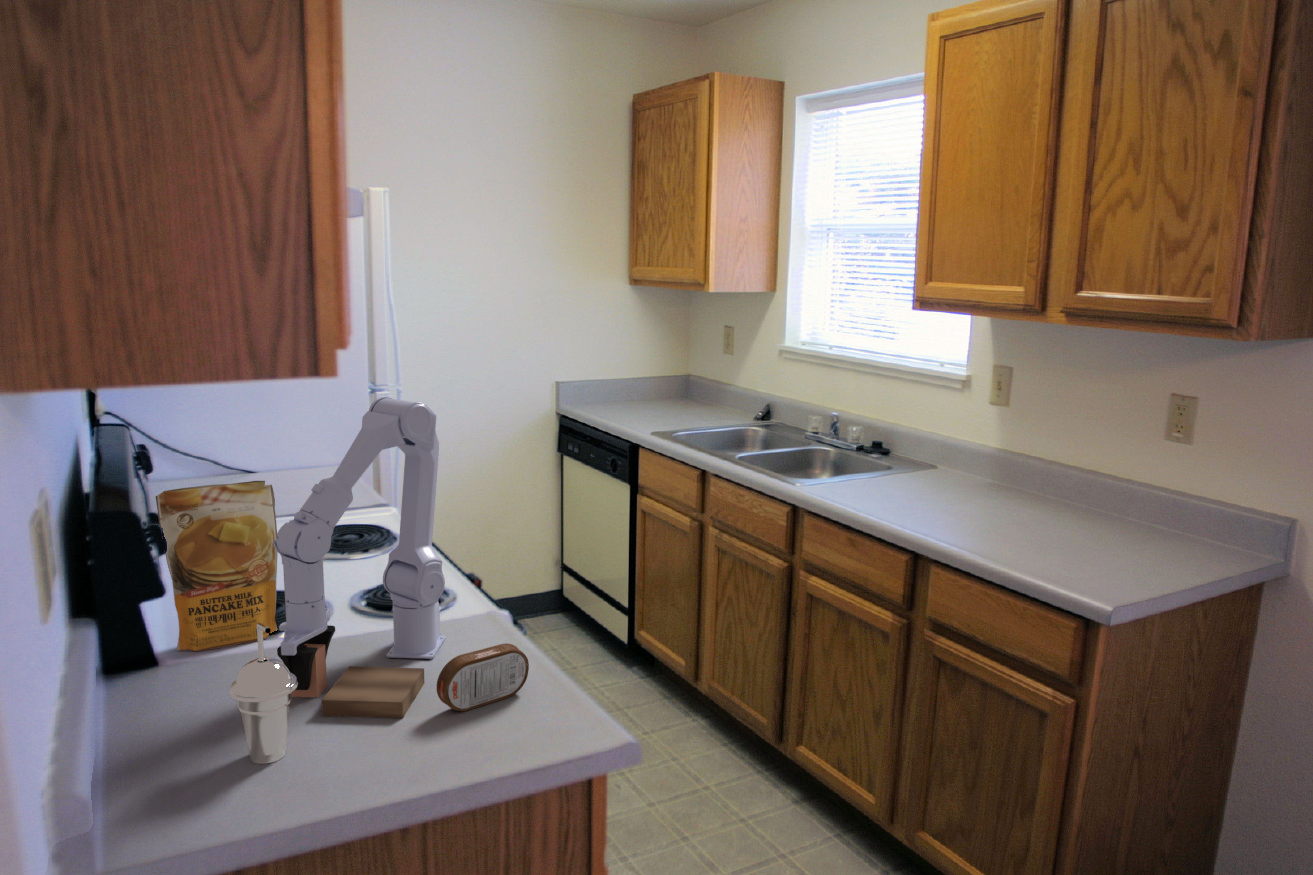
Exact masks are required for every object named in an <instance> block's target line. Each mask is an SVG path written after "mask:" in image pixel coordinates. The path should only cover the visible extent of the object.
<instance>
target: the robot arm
mask: <svg viewBox="0 0 1313 875" xmlns="http://www.w3.org/2000/svg"><path fill="white" fill-rule="evenodd" d="M436 425H437V415H436V413H435V412H434V411H433V410H432V409H430V407H429V406H428V405H427V404H425V403H423V402H420V401H409V400H403V399H394V398H391V397H387V396H383V397H379V398H376V399H375V400H373V402H372V403H371V405H369V408H368V410H367V411H366V412H365V413H364V414H363V416H362V418H361V429H360V430H359V431H358V433H357V435H356V437H355V439H354V440H353V442H352V443H351V445H350V447H349V449H348V450H347V452H346V453H345V455H344V457H343V459H342V460H341V462H340V464H339V465H338V467H337V469H336V470H335V472H334V473H333V476H330V477H327V478H322V479H321V480H320V481H319V482H318V483H314V485H313V487H312V488H311V493H310V495H309V496H308V498H307V499H306V500H305V502H304V503H303V505H302V507H301V508H300V509H299V510H298V511H297V512H296V513H295V514H294V516H293V517H294V518H293V519H291V520H289V521H288V522H285V523H284V524H283V525H282V526H281V527H280V528H279V529H278V530H277V538H276V540H274V541H273V544H274V547H275V549H276V551H277V554H279V555H280V557H281V565H283V566H282V569H283V586H284V587H283V589H284V604H285V620H286V621H284V622H282V623H280V625H278V631H280V632H282V631H284V634H283V640H282V641H281V642H280V645H279V647H277V648H276V653H277V657H279V660H280V661H282V662H283V663H284V664H285V665H286V666H287V668H288V669H289V671H290V673H292V674H294V675H295V676H296V679H297V681H298V686H297V688H296V689H295V690H308V689H309V687H310V682H311V670H312V663H313V659H314V656H315V653H316V651H317V649H318V648H317V647H307V645H305V644H325V653H326V657H327V655H328V650H329V646H330V644H331V641H332V638H333V636H334V634H335V633H336V626H335V625H331V624H330V625H329V624H328V622H330V620H331V609H330V608H327V607H326V598H325V597H326V595H325V577H324V576H325V574H324V557H325V556H326V555H327V553H329V551H330V549H331V547H332V546H331V545H332V535H333V534H334V529H335V527H336V526H337V524H338V523H339V521H340V520H341V518H342V516H343V515H344V514H345V512H346V510H347V509H348V508H349V507H350V504H352V502H353V500H354V495H353V487H354V486H355V485H356V483H358V481H359V480H360V479H361V477H362V476H363V475H364V474H365V472H366V471H367V469H368V468H369V467H370V466H371V464H372V463H373V462H374V461H375V460H376V458H377V457H378V455H379V454H380V453H381V452H382V451H384V450H387V449H391V448H398V449H399V450H401V452H403V454H404V467H403V483H402V494H401V495H402V496H401V506H400V507H401V509H400V520H399V521H400V522H399V524H400V525H399V537H398V545H397V546H396V547H395V548H393V549H392V550H391V551H390V552H389V554H388V559H387V560H388V562H387V565H386V567H385V569H384V572H383V574H382V586H383V587H384V589H385V590H386V591H387V592H388V594H389V593H390V595H389V596H390V600H392V616H393V617H392V620H393V622H392V623H393V645H392V647H391V648H390V649H389V651H388V652H387V653H386V658H394V659H397V658H399V659H426V660H427V659H429V660H431V659H433V658H434V657H435V656H436V654H437V653H438V652H439V650H440V648H441V646H442V645H443V644H444V641H445V640H446V639H447V636H446V635H444V634H442V635H441V611H440V610H441V608H440V606H441V605H440V603H439V599H440V598H441V596H442V594H443V592H444V589H445V584H446V581H445V580H446V578H445V574H444V573H443V560H442V559H441V557H440V555H439V554H438V553H437V551H436V550H435V549H434V548H433V536H434V535H433V534H434V520H435V506H436V496H437V495H436V494H437V481H438V468H439V467H438V466H439V456H440V455H439V454H440V442H439V438H438V434H437V430H436V427H437V426H436Z"/></svg>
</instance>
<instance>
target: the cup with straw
mask: <svg viewBox="0 0 1313 875" xmlns="http://www.w3.org/2000/svg"><path fill="white" fill-rule="evenodd" d="M263 631H264V632H266V633H270V631H271V629H270V628H269V627H267V626H266V625H264V624H263V623H261V622H259V623H258V624H257V639H258V641H257V652H258V653H257V654H258V657H257V658H255V659H253V660H250V661H248V662H247V663H246V664H245V665H243V667H242V668H241V669H240V671H239V672H238V675H237V677H236V678H235V680H234V681H233V682H231V685H230V690H229V696H230V698H232V699H233V700H235V701H236V705H237V707H238V711H239V713H240V715H241V719H242V724H243V725H242V726H243V731H244V735H245V740H246V746H247V750H248V753H249V755H250V756H249V761H251V762H252V763H254V764H259V765H264V764H265V765H266V764H271V763H275V762H278V761H280V760H281V759H283V758H284V757H285V756H286V754H287V751H286V747H287V742H288V732H289V731H288V728H289V713H290V712H289V711H290V706H291V701H292V692H293V691H294V690H295V689H296V688H297V686H298V681H297V679H296V676H295V675H294V674H292V673H290V671H289V669H288V668H287V666H286V665H285V664H284V663H283V661H282V660H281V659H278V658H275V657H268V656H265V649H264V639H263Z"/></svg>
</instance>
